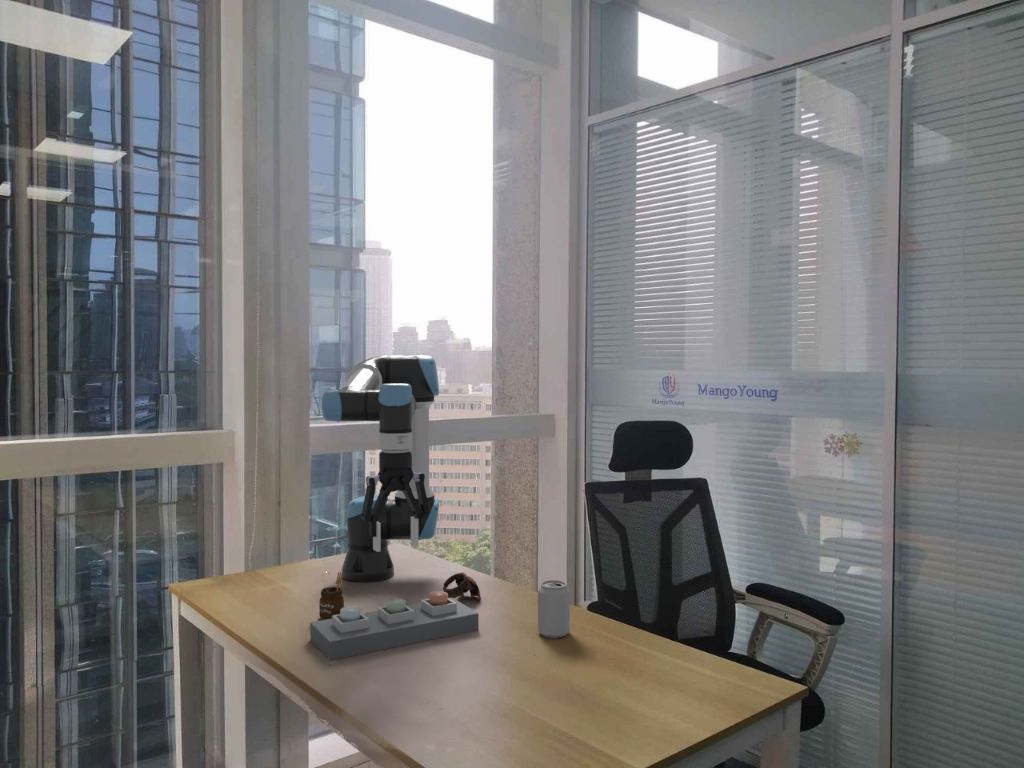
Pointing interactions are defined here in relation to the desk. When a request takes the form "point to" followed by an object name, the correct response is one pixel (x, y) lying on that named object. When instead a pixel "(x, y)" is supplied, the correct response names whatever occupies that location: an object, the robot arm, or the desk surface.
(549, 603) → the can
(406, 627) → the console
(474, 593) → the dark brown curved piece
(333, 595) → the utensil holder
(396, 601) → the sage button
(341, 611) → the pale blue button
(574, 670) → the desk surface
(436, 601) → the terracotta button
